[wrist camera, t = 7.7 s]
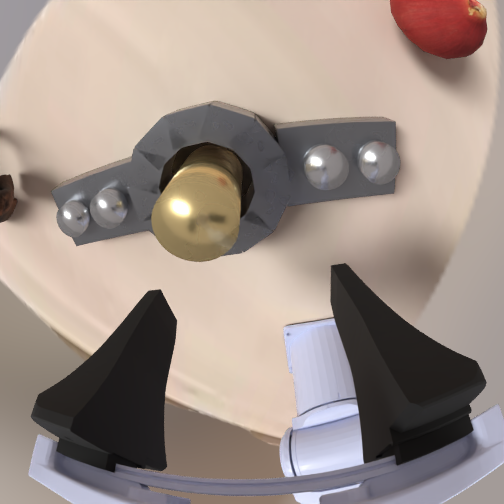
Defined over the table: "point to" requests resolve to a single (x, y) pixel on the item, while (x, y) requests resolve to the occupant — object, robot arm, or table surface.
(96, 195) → the studded flange bracket
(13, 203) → the rusty ring shackle
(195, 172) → the pin
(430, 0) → the onion
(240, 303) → the table surface
